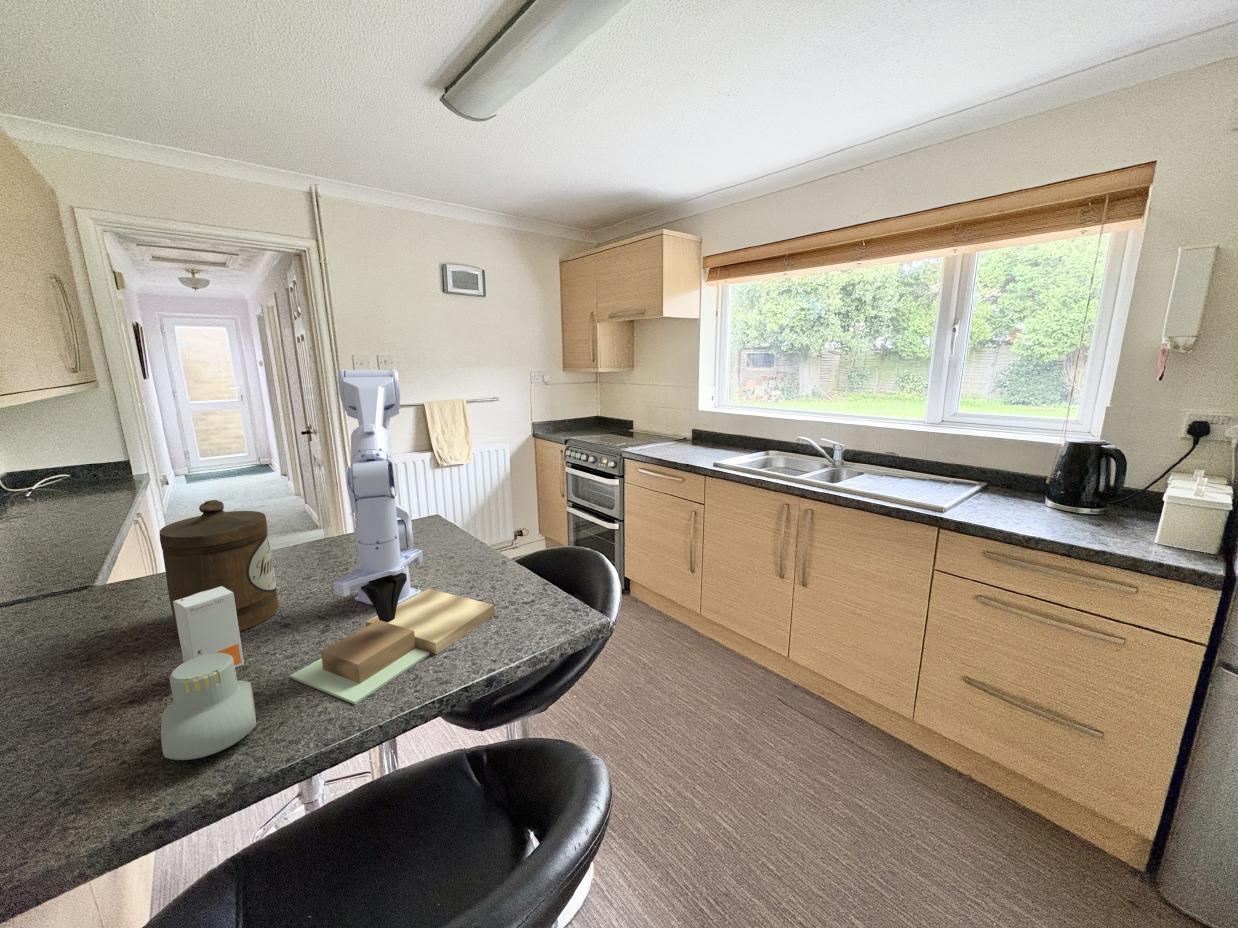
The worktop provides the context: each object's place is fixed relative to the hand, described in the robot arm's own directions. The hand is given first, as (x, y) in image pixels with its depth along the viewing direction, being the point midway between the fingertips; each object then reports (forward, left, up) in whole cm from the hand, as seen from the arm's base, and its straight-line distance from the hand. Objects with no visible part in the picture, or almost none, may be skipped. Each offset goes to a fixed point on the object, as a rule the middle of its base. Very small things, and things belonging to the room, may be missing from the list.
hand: (387, 619), depth 79 cm
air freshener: (-3, -23, -5) cm, 24 cm away
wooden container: (-35, -5, -5) cm, 36 cm away
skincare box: (-19, -15, -5) cm, 25 cm away
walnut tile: (0, -4, -5) cm, 6 cm away
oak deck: (0, +9, -5) cm, 10 cm away
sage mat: (0, -5, -5) cm, 7 cm away
